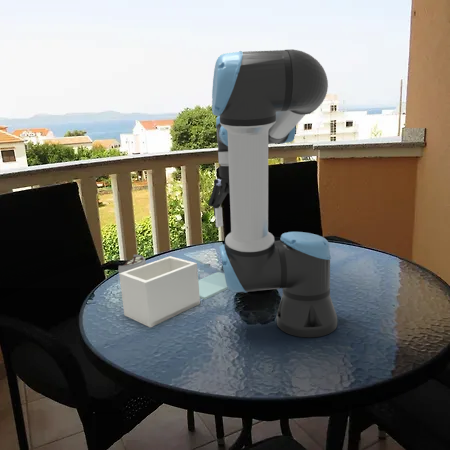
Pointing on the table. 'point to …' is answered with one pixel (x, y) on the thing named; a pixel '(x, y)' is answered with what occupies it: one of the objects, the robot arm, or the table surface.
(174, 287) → the tub
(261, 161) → the robot arm
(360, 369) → the table surface
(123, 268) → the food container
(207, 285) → the lid
